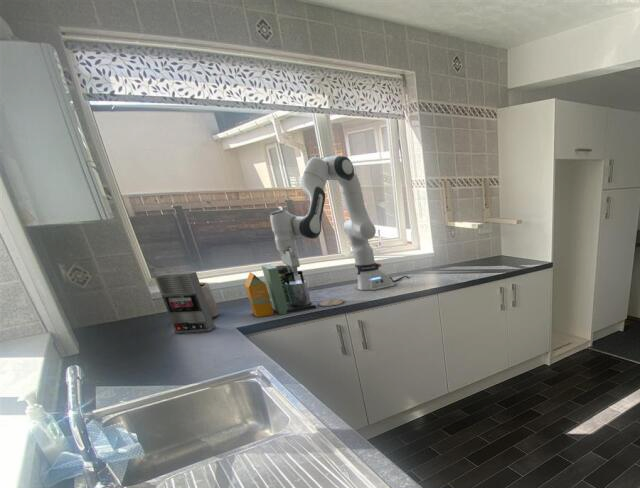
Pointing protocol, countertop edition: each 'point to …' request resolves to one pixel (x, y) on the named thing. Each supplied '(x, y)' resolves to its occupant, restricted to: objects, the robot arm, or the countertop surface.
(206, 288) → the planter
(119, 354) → the countertop surface
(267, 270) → the coffee maker
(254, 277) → the orange juice
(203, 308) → the cassette tape recorder
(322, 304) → the cork mat
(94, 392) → the countertop surface
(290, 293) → the grey box with handle
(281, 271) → the coffee jar
